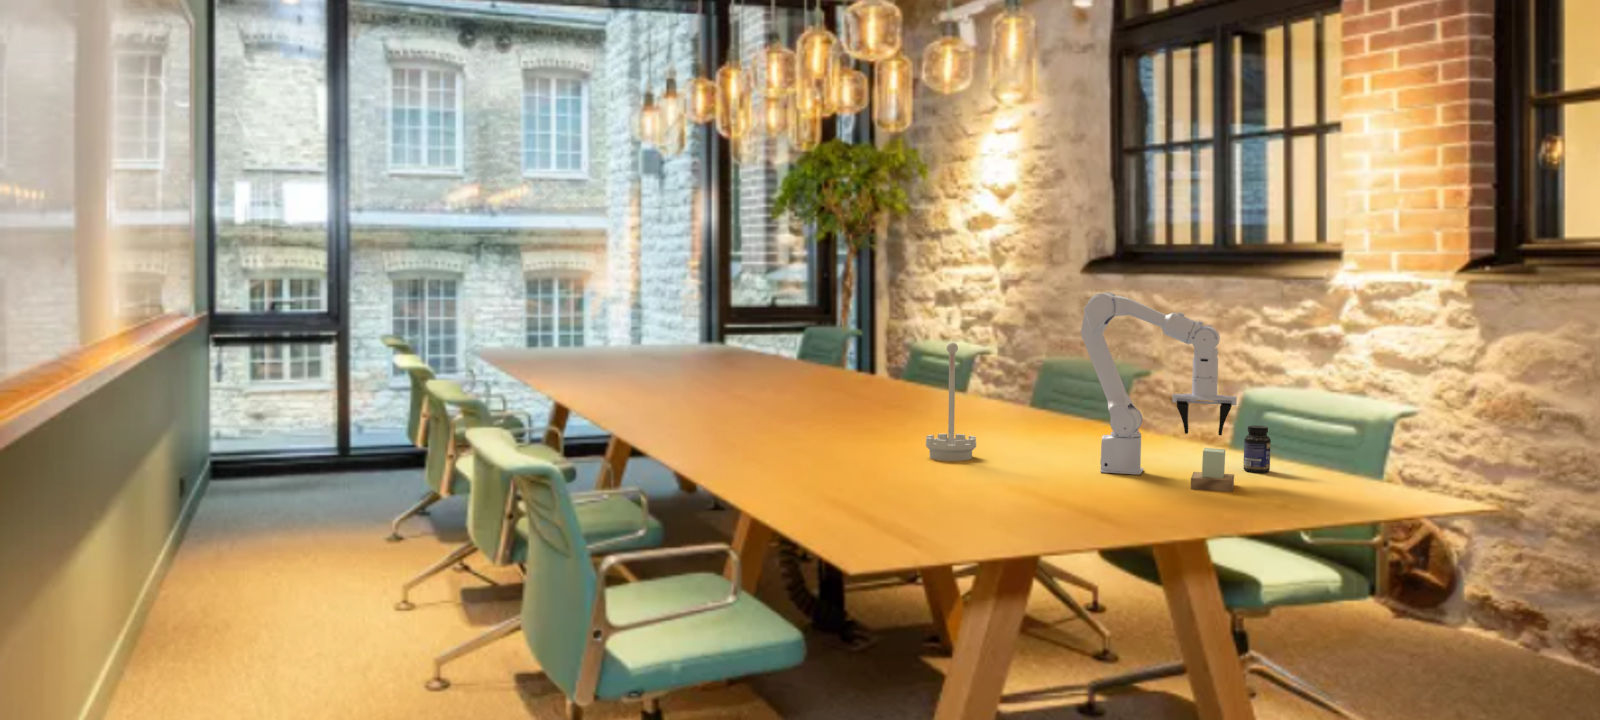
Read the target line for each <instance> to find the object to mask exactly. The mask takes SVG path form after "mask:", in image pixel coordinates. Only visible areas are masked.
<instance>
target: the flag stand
mask: <svg viewBox="0 0 1600 720" xmlns="http://www.w3.org/2000/svg"><path fill="white" fill-rule="evenodd" d="M946 351H947V353H948V354H949V355H948V358H949V359H948V425H947V427H948V428H947V430H948V433H937V438H936V437H935V435H934V434H928V435H926V437H925V446H926V448H927V450H929V458H930V459H931V460H935V461H943V462H944V461H945V462H946V461H947V462H962V461H963V460H964V461H969V459H970V460H972V459H973V450H974V449H976V448H977V437H976V436H974V435H968V438H966V434H962V433H961V434H960V433H955V407H956V405H955V403H956V402H955V401H956V400H955V399H956V397H955V396H956V394H955V393H956V388H955V386H956V353H957V352H958V351H959V347H958V344H957V343H955V342H950V343H947V345H946Z"/></svg>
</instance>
